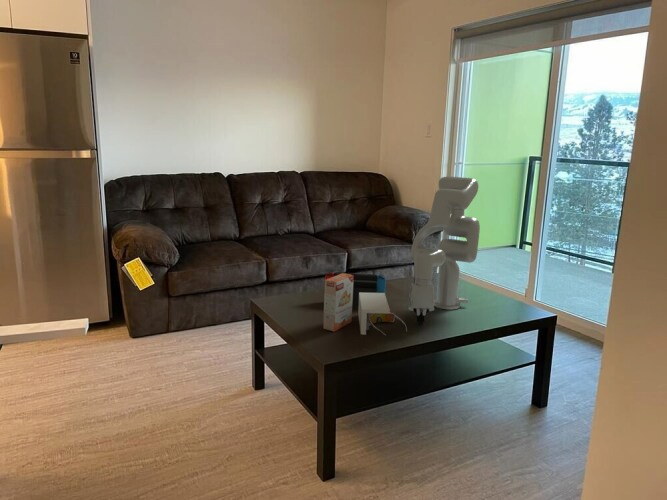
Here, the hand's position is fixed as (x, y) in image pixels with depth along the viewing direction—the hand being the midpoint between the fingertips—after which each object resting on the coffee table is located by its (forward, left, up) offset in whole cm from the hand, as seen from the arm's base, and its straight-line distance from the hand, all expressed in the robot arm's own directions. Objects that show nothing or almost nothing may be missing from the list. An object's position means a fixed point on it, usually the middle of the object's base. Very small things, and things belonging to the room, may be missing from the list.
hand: (420, 323), depth 220 cm
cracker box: (+34, +2, -1) cm, 34 cm away
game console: (+26, -26, -1) cm, 37 cm away
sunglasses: (+14, +3, -2) cm, 14 cm away
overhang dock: (+20, 0, -1) cm, 20 cm away
